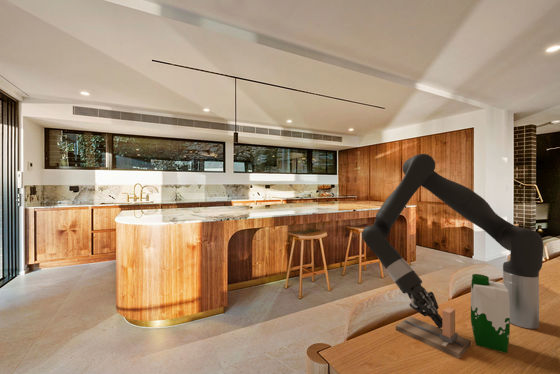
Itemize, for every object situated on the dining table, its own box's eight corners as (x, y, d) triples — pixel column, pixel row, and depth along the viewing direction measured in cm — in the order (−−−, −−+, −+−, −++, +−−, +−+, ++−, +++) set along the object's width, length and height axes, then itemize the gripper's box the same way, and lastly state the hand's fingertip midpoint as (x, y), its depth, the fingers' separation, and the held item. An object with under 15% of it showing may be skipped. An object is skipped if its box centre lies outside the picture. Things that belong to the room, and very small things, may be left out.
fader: (439, 338, 76) (439, 310, 76) (446, 333, 79) (446, 305, 79) (451, 343, 74) (451, 314, 74) (457, 337, 77) (457, 309, 77)
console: (395, 330, 85) (395, 324, 85) (410, 320, 91) (410, 315, 91) (458, 358, 70) (458, 352, 70) (471, 345, 76) (471, 339, 76)
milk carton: (469, 332, 84) (469, 270, 84) (505, 340, 79) (505, 275, 79) (472, 346, 76) (472, 278, 76) (512, 356, 71) (512, 285, 71)
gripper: (401, 273, 82) (444, 329, 72) (420, 266, 90) (461, 314, 80) (385, 285, 86) (424, 339, 76) (405, 277, 94) (442, 324, 84)
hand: (443, 326), depth 78 cm, fingers closed
